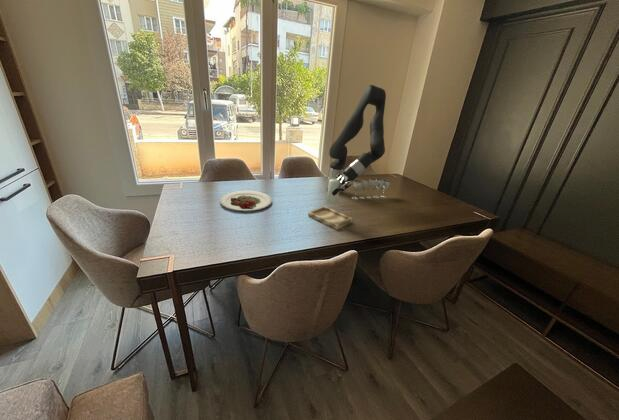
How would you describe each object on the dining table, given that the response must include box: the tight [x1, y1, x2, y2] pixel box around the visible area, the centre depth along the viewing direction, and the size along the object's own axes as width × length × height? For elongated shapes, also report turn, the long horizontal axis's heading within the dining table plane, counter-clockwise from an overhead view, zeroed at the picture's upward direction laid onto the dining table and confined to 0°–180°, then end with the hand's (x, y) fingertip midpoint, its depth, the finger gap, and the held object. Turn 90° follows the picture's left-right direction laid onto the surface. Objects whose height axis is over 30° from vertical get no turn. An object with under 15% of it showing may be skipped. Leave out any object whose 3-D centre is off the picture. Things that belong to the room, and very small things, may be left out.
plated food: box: [219, 190, 273, 212], centre depth 151 cm, size 30×30×3 cm
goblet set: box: [351, 177, 391, 200], centre depth 174 cm, size 28×6×13 cm, turn 109°
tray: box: [307, 205, 353, 231], centre depth 140 cm, size 20×14×2 cm
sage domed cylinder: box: [326, 179, 340, 205], centre depth 134 cm, size 6×6×12 cm
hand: (330, 192), depth 133 cm, fingers closed on sage domed cylinder, 6 cm apart
